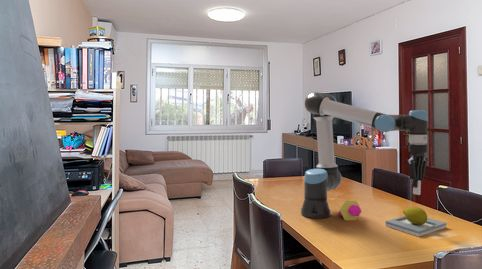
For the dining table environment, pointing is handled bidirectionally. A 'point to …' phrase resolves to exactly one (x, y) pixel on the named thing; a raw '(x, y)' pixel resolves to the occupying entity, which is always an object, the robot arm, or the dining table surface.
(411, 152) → the robot arm
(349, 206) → the toy
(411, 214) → the lemon
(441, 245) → the dining table surface
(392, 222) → the baseplate
